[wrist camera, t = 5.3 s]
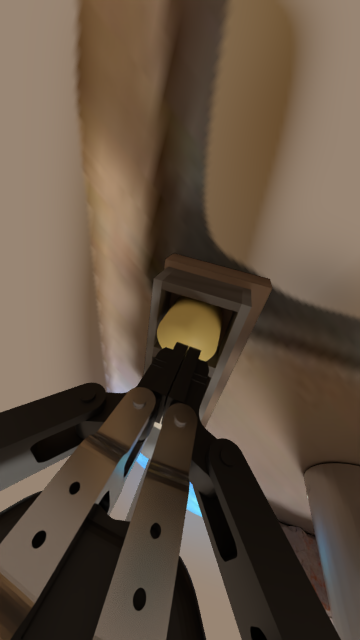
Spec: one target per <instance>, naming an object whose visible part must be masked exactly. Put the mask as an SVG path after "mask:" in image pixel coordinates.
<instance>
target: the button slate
mask: <svg viewBox="0 0 360 640" xmlns="http://www.w3.org/2000/svg"><path fill="white" fill-rule="evenodd" d="M159 433H160V429H158V428H156V427H154V426H153V428H152V430H151V432H150V434H149V436H148V439H147V441H146V442H145V444H144V446H143V448H142V450H141V453H142V454H143V455H144V456H145V457H147V458H149V459H150V460H151V458H152V455H153V452H154V448H155V445H156V442H157V439H158V436H159Z"/></svg>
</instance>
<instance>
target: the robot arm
mask: <svg viewBox="0 0 360 640" xmlns="http://www.w3.org/2000/svg"><path fill="white" fill-rule="evenodd" d="M188 348H189V349H188ZM200 353H201V350H199V349H196V348H194V347H191V346H190V347H189V346H188V345H185V344H182V343H180V342H177V343H176V344H175V346H174V348H173V349H170V348H167V347H165V348H163V349H162V350H160V351H159V352H158V353H157V355H156V357H155V359H154V360H153V361H152V363H151V365H150V366H149V368H148V369H147V371H146V373H145V374H144V376H143V377H142V379H141V381H140V382H139V384H138V385H137V386H136V387H135V388H133V389H131V390H130V391H129V392H126V393H108V392H105V389H104V388H103V386H101V385H100V384H97V383H86V384H83V385H80V386H77V387H74V388H71V389H68V390H65V391H62V392H59V393H56V394H53V395H51V396H48V397H45V398H42V399H39V400H36V401H33V402H30V403H27V404H25V405H21V406H19V407H15V408H13V409H10V410H7V411H4V412H1V413H0V491H1V490H3V489H5V488H7V487H9V486H11V485H13V484H15V483H17V482H19V481H21V480H23V479H25V478H27V477H29V476H31V475H33V474H35V473H37V472H39V471H41V470H42V469H45V468H46V467H48V466H50V465H52V464H54V463H56V462H58V461H60V460H62V459H64V458H66V457H68V456H70V455H71V456H70V457H69V459H68V460H67V461H66V462H65V464H64V465H63V466H62V467H61V469H60V470H59V471H58V472H57V474H56V475H55V476H54V477H53V479H52V480H51V481H50V482H49V484H48V485H47V486H46V487H45V489H44V490H43V491H40V492H37V493H35V494H33V495H30V496H28V497H26V498H24V499H22V500H20V501H19V502H17V503H15V504H14V505H12V506H10V507H8V508H7V509H5V510H3V511H2V512H0V640H206V637H205V632H204V628H203V624H202V619H201V614H200V610H199V605H198V601H197V597H196V593H195V589H194V586H193V583H192V580H191V577H190V575H189V573H188V570H187V568H186V566H185V564H184V562H183V560H182V559H181V557H180V556H179V553H180V546H181V540H182V533H183V526H184V520H185V513H186V507H187V501H188V494H189V481H190V482H191V483H192V484H193V488H194V492H195V495H196V498H197V501H198V504H199V507H200V510H201V513H202V517H203V520H204V523H205V526H206V529H207V532H208V535H209V538H210V541H211V544H212V548H213V551H214V554H215V557H216V560H217V563H218V566H219V569H220V573H221V576H222V579H223V582H224V585H225V588H226V591H227V595H228V598H229V601H230V604H231V607H232V610H233V613H234V616H235V620H236V623H237V626H238V629H239V632H240V635H241V638H242V640H360V466H355V465H350V464H341V463H329V464H321V465H316V466H313V467H311V468H309V469H308V470H307V471H306V472H305V474H304V481H305V486H306V493H307V498H308V501H309V506H310V511H311V516H312V521H313V526H314V531H315V536H316V541H317V546H318V551H319V556H320V561H321V566H322V571H323V576H324V581H325V586H326V591H327V596H328V601H329V606H330V611H331V616H332V621H333V624H332V622H331V620H330V618H329V616H328V614H327V612H326V610H325V609H324V607H323V605H322V603H321V601H320V599H319V597H318V595H317V593H316V592H315V590H314V588H313V586H312V584H311V582H310V580H309V578H308V576H307V575H306V573H305V571H304V569H303V567H302V565H301V563H300V561H299V559H298V558H297V556H296V554H295V552H294V550H293V548H292V546H291V544H290V542H289V541H288V539H287V537H286V535H285V533H284V531H283V529H282V527H281V525H280V524H279V522H278V520H277V518H276V516H275V514H274V512H273V510H272V508H271V507H270V505H269V503H268V501H267V499H266V497H265V495H264V493H263V491H262V490H261V488H260V486H259V484H258V482H257V480H256V478H255V476H254V474H253V473H252V471H251V469H250V467H249V465H248V463H247V461H246V459H245V457H244V456H243V454H242V452H241V450H240V449H239V447H238V446H237V445H236V444H235V443H233V442H232V441H230V440H228V439H224V438H221V439H217V438H215V437H214V436H213V435H212V434H211V433H210V432H208V431H207V430H206V429H205V427H204V426H203V425H202V423H201V421H200V417H199V409H200V405H201V401H202V397H203V393H204V389H205V385H206V381H207V377H208V373H209V367H208V363H207V362H205V361H203V360H200V359H199V356H200ZM162 417H163V418H162ZM161 419H162V421H161ZM160 421H161V425H162V426H161V430H160V433H159V436H158V439H157V442H156V445H155V448H154V452H153V455H152V458H151V461H150V464H149V466H148V469H147V472H146V475H145V478H144V481H143V484H142V487H141V491H140V494H139V497H138V500H137V503H136V506H135V509H134V512H133V516H132V519H131V521H122V520H115V519H112V518H111V517H110V516H109V515H110V513H111V511H112V509H113V507H114V505H115V503H116V501H117V499H118V497H119V495H120V493H121V491H122V488H123V486H124V483H125V481H126V479H127V477H128V475H129V473H130V471H131V469H132V467H133V465H134V463H135V461H136V460H137V458H138V456H139V454H140V452H141V450H142V448H143V446H144V444H145V442H146V441H147V439H148V436H149V434H150V432H151V430H152V428H153V426H154V423H155V422H157V423H159V424H160Z"/></svg>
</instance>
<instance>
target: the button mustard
mask: <svg viewBox="0 0 360 640" xmlns="http://www.w3.org/2000/svg"><path fill="white" fill-rule="evenodd" d="M222 322H223V314H222V311H221V308H220V307H219V306H216V305H212V304H209V303H206V302H203V301H199V300H196V299H193V298H189V297H186V296H181V297H179V298H178V299H177V300H176V302H175V303H174V304H173V306H172V307H171V308H170V310H169V311H168V312H167V314H166V315H165V317H164V318H163V319H162V321H161V322H160V324H159V326H158V329H157V338H158V341H159V344H160V346H161V347H162V349H163V348H165V347H167V348H170V349H173V348H174V346H175V344H176V343H177V342H180V343H182V344H185V345H188V346H189V347H190V346H191V347H194V348H196V349H199V350H201V353H200V356H199V359H200V360H203V361H207V360H209V359H210V358H211V357H212V356H213V355H214V354H215V352H216V350H217V346H218V341H219V336H220V332H221V327H222ZM188 349H189V348H188Z"/></svg>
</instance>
